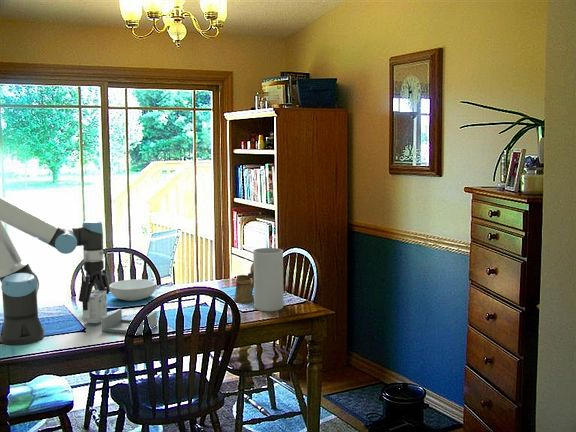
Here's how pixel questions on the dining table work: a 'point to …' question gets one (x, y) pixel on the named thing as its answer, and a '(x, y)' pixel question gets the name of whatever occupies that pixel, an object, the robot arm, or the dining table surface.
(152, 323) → the end holder
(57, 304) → the dining table surface
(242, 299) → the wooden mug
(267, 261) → the cylinder vase
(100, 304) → the light bulb box
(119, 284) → the serving bowl
